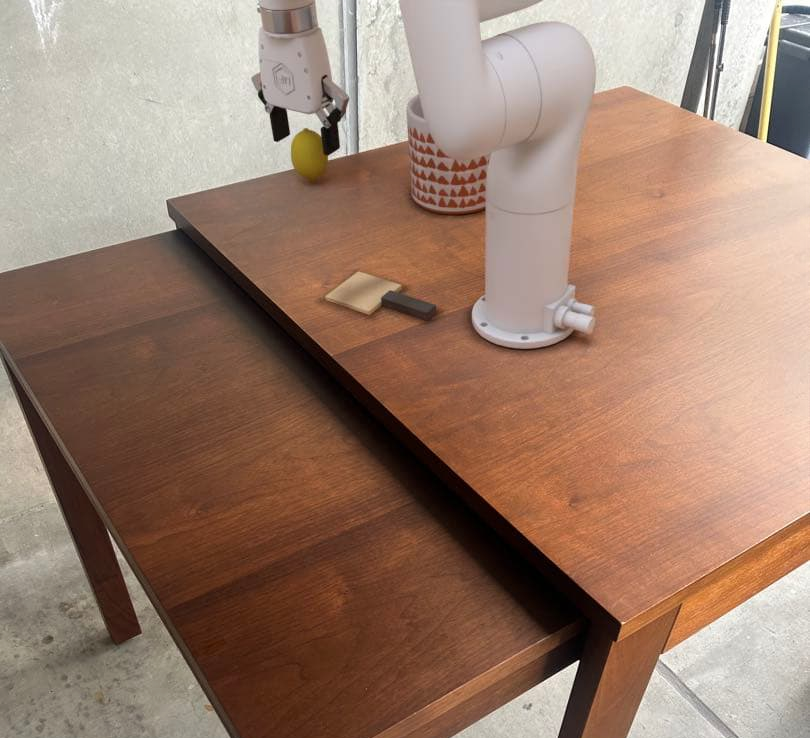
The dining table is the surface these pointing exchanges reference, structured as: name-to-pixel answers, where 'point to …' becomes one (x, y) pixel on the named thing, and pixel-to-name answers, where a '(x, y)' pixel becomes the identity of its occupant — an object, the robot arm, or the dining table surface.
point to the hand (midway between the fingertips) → (306, 145)
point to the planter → (442, 171)
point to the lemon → (308, 155)
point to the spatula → (378, 297)
